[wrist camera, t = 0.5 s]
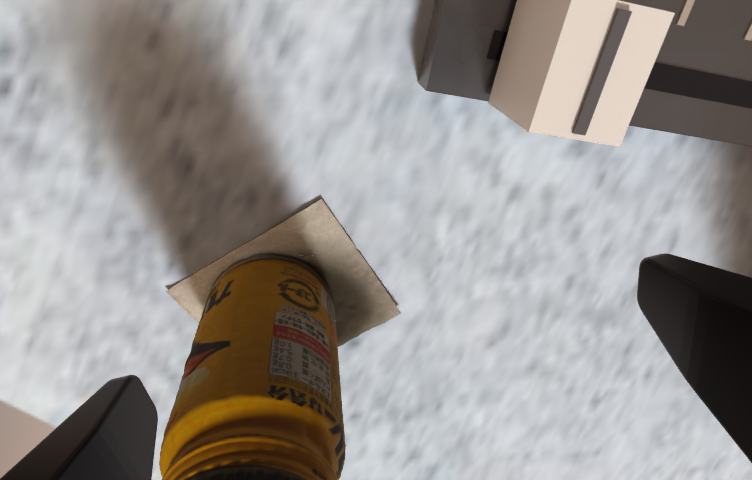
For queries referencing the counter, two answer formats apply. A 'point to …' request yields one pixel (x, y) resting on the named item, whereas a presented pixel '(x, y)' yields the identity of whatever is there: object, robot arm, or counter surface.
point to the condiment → (271, 355)
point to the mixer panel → (664, 85)
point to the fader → (577, 66)
